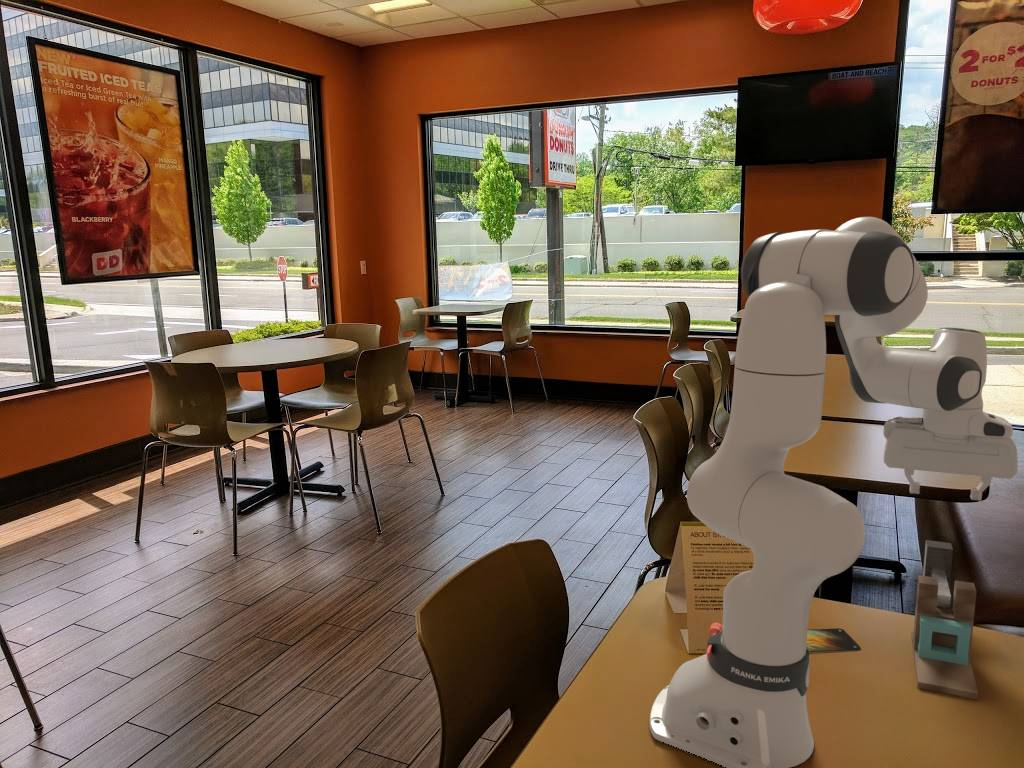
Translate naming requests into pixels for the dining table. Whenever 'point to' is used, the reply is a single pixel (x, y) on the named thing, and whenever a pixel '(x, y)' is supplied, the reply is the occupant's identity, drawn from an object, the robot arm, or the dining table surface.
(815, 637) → the smartphone
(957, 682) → the stand
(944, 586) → the shaft
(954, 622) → the spacer
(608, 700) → the dining table surface
